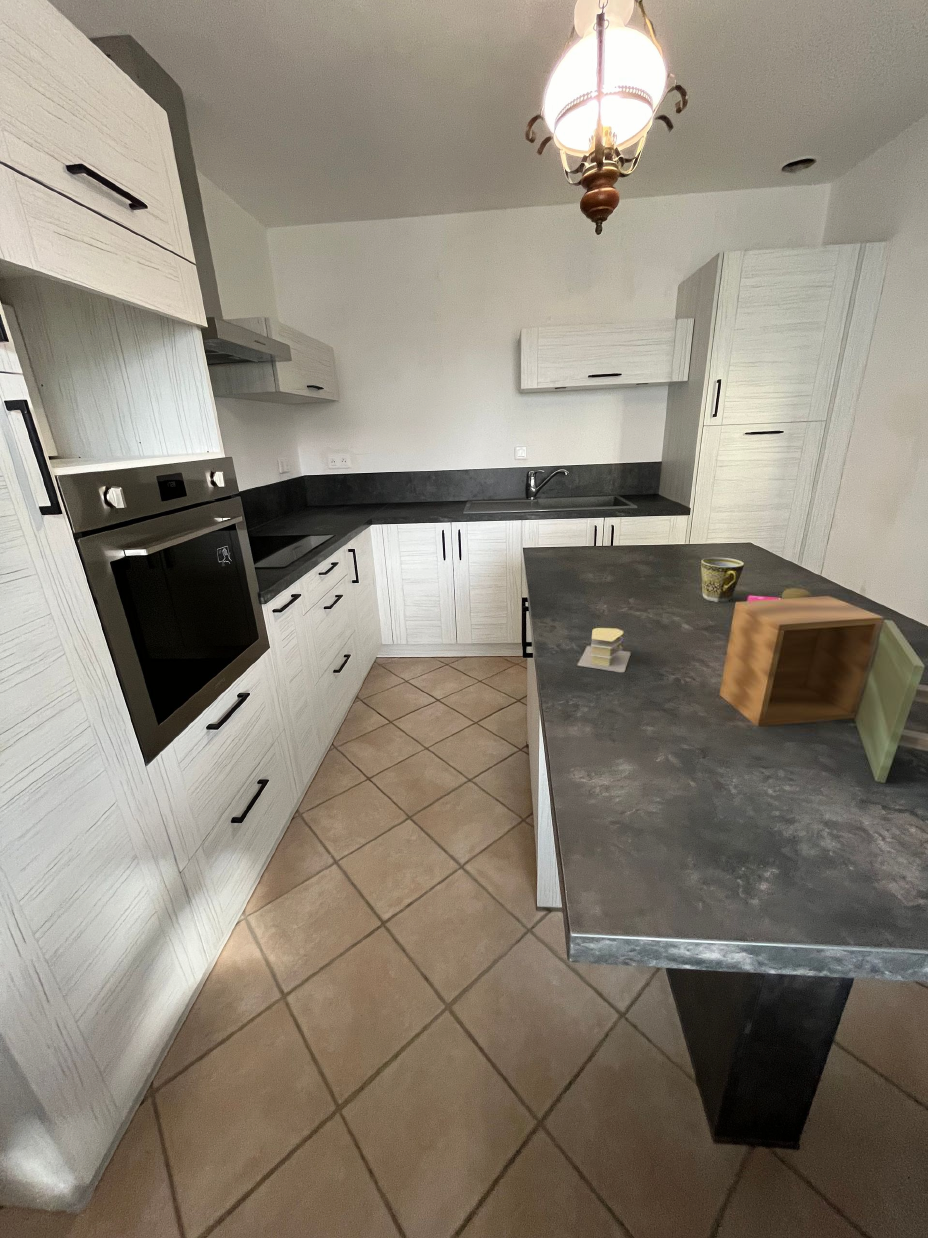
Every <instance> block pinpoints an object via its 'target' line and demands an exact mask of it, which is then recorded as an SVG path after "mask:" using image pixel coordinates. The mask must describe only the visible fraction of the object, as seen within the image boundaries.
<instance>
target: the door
mask: <svg viewBox="0 0 928 1238" xmlns="http://www.w3.org/2000/svg"><path fill="white" fill-rule="evenodd" d="M925 668H926V665H925V664H924V663H923V661H922V660H921V658H920V657H919V656H918V654H917V653H916V651H915V650H914V648H913V647H912V646H911V645H910V643H909V641H908V640H907V639H906V637H905V636H904V635H903V633H902V632H901V631H900V629H899V628H898V626H897V625H896V623H895V622H894V621H893V620H891V619H890V620H889V619H883V621H882V624H881V628H880V631H879V635H878V638H877V641H876V645H875V648H874V651H873V655H872V658H871V662H870V665H869V668H868V672H867V675H866V678H865V682H864V685H863V689H862V692H861V695H860V699H859V702H858V705H857V709H856V712H855V715H854V718H853V719H854V723H855V726H856V728H857V732H858V733H859V737H860V741H861V743H862V746H863V748H864V751H865V754H866V757H867V760H868V763H869V766H870V769H871V772H872V775H873V778H874V781H875V782H878V783H882V784H886V782H887V778H888V775H889V773H890V770H891V767H892V764H893V761H894V758H895V756H896V752H897V750H898V747H899V746H901V747H907V748H911V749H915V750H921V751H925V752H928V733H926V732H920V731H916V730H911V729H906V728H905V726H906V723H907V720H908V718H909V715H910V712H911V709H912V706H913V702H918V703H925V704H928V685H925V684H920V682H921V680H922V677H923V674H924V671H925Z"/></svg>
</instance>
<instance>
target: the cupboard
mask: <svg viewBox="0 0 928 1238" xmlns="http://www.w3.org/2000/svg"><path fill="white" fill-rule="evenodd" d="M884 619H885V618H884V616H881V615H879V614H877V613H874V612H871V611H869V610H866V609H864V608H861V607H858V606H856V605H853V604H851V603H848V602H845V601H843V600H840V599H838V598H835V597H832V596H830V595H823V596H812V597H805V598H790V599H782V598H780V599H775V600H760V601H747V600H746V601H736V602H735V603H734V610H733V616H732V622H731V625H730V626H731V627H730V631H729V638H728V644H727V649H726V655H725V661H724V667H723V672H722V677H721V682H720V683H721V684H720V689H719V696H721V697H722V698H723V699H724V700H725V701H727V702H728V703H729V704H730V705H731V706H732V707H733V708H735V709H736V710H737V711H738V712H739V713H740V714H741V715H742V716H744V717H745V718H747V720H749V721H750V722H751V723H752V724H754V725H755V726H756V727H768V726H769V727H770V726H781V725H782V726H783V725H792V724H793V725H794V724H802V723H812V722H813V723H815V722H824V721H825V722H826V721H836V720H847V719H855V716H856V712H857V709H858V706H859V702H860V699H861V696H862V692H863V689H864V686H865V682H866V679H867V675H868V672H869V669H870V665H871V662H872V659H873V655H874V652H875V649H876V645H877V642H878V638H879V635H880V632H881V628H882V625H883V622H884Z"/></svg>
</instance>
